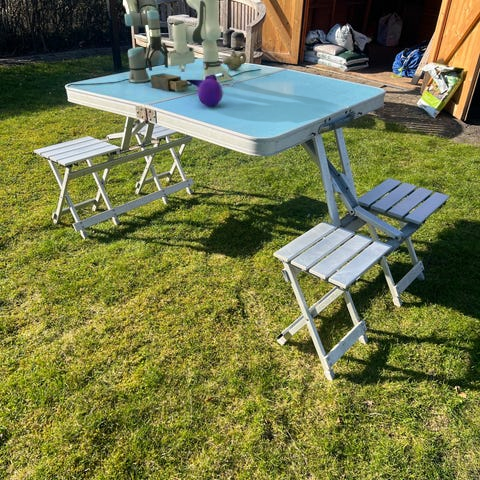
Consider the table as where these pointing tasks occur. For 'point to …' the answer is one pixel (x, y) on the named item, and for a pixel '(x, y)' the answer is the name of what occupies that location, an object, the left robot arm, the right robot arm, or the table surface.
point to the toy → (208, 90)
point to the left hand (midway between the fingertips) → (158, 69)
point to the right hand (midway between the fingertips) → (182, 71)
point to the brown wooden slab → (162, 81)
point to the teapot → (234, 60)
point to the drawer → (179, 84)
